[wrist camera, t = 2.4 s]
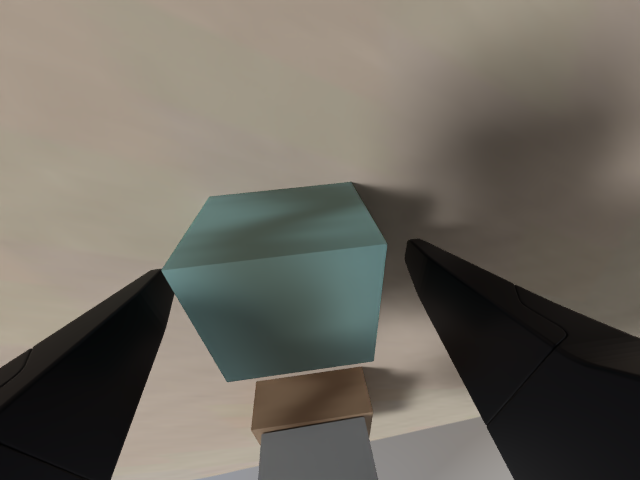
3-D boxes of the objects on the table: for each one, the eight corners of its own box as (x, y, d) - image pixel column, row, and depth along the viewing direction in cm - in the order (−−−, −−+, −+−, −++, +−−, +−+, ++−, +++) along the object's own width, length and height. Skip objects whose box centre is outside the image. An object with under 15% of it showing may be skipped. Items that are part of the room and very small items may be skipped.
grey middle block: (364, 416, 14) (380, 490, 11) (364, 447, 17) (376, 508, 15) (261, 434, 14) (255, 512, 11) (282, 461, 17) (281, 526, 15)
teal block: (350, 180, 9) (387, 243, 5) (349, 280, 12) (373, 361, 8) (210, 194, 8) (160, 270, 5) (244, 293, 11) (227, 382, 8)
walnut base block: (360, 361, 16) (373, 411, 14) (357, 405, 20) (367, 450, 18) (256, 375, 16) (251, 430, 14) (274, 417, 20) (272, 465, 17)
